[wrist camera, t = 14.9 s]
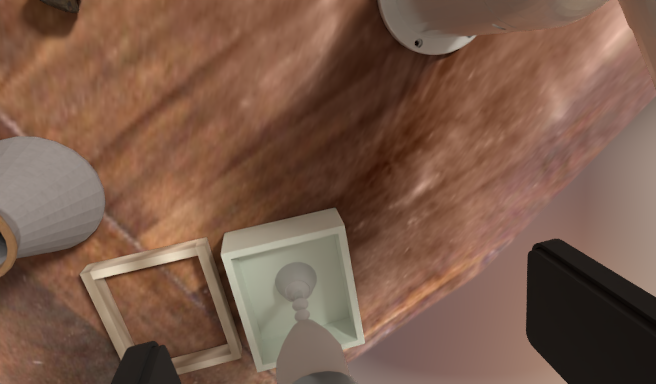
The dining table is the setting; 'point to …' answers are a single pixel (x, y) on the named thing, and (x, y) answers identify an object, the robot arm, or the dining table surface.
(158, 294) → the dining table surface
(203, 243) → the ash frame
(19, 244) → the coffee pot
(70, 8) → the hand tool
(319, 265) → the sage bin
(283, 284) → the chalice
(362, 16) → the dining table surface
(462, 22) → the robot arm
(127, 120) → the dining table surface
